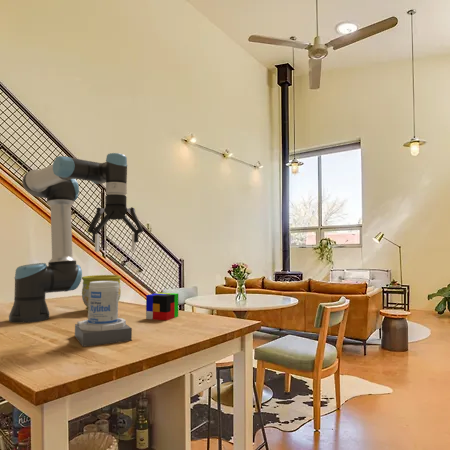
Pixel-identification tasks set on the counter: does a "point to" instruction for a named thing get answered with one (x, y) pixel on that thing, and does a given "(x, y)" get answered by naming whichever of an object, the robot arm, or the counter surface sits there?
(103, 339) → the grey square ring block
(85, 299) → the flowerpot
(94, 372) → the counter surface
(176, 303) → the puzzle toy
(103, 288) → the supplement tub
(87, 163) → the robot arm
